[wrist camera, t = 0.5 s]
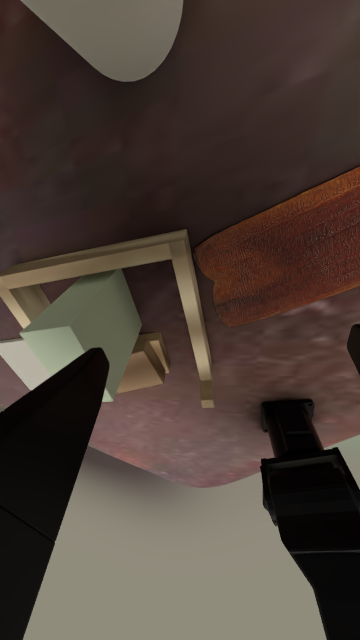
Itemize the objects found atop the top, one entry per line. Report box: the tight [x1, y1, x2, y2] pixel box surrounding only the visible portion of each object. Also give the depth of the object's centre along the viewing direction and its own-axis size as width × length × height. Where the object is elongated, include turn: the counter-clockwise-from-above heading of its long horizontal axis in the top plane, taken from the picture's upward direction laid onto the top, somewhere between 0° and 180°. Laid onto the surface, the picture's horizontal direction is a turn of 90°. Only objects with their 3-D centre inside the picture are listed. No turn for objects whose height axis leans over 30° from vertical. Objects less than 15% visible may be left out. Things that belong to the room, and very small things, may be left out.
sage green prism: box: [20, 268, 142, 402], centre depth 20 cm, size 7×4×10 cm, turn 12°
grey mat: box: [0, 338, 51, 390], centre depth 30 cm, size 10×8×1 cm
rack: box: [0, 229, 214, 408], centre depth 23 cm, size 16×17×6 cm
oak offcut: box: [136, 332, 170, 373], centre depth 27 cm, size 5×7×2 cm
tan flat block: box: [117, 339, 166, 393], centre depth 26 cm, size 5×6×2 cm
